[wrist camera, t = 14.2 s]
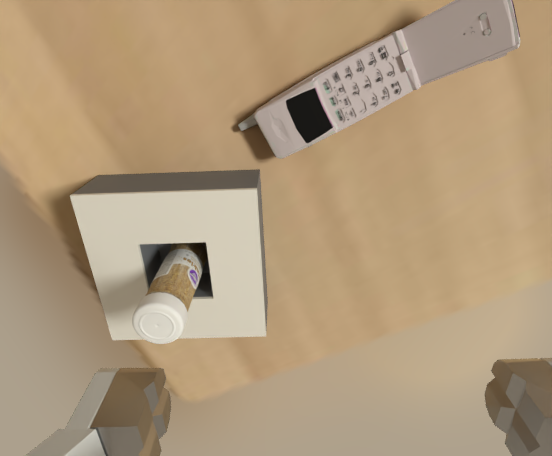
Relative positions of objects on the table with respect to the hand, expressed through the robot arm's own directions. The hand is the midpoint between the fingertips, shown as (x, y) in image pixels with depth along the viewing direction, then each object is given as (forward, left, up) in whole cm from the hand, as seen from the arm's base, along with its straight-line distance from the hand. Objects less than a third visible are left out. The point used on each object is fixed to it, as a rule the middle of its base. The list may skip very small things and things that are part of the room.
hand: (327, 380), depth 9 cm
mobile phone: (-4, +7, -34) cm, 35 cm away
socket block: (+14, -12, -33) cm, 38 cm away
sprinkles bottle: (+14, -12, -33) cm, 37 cm away
